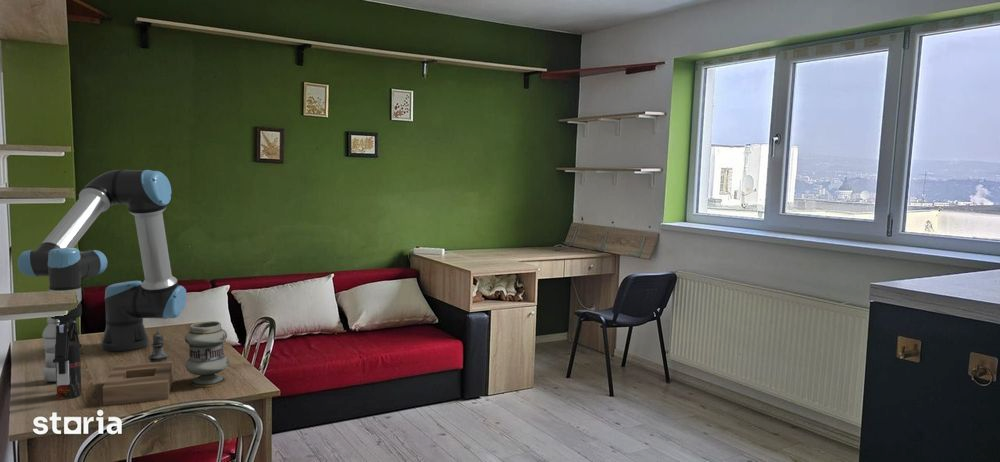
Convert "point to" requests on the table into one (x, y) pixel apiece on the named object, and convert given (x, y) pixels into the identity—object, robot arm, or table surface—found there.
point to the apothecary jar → (206, 353)
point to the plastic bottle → (50, 349)
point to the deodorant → (71, 374)
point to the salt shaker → (158, 349)
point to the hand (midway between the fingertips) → (68, 377)
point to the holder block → (138, 383)
